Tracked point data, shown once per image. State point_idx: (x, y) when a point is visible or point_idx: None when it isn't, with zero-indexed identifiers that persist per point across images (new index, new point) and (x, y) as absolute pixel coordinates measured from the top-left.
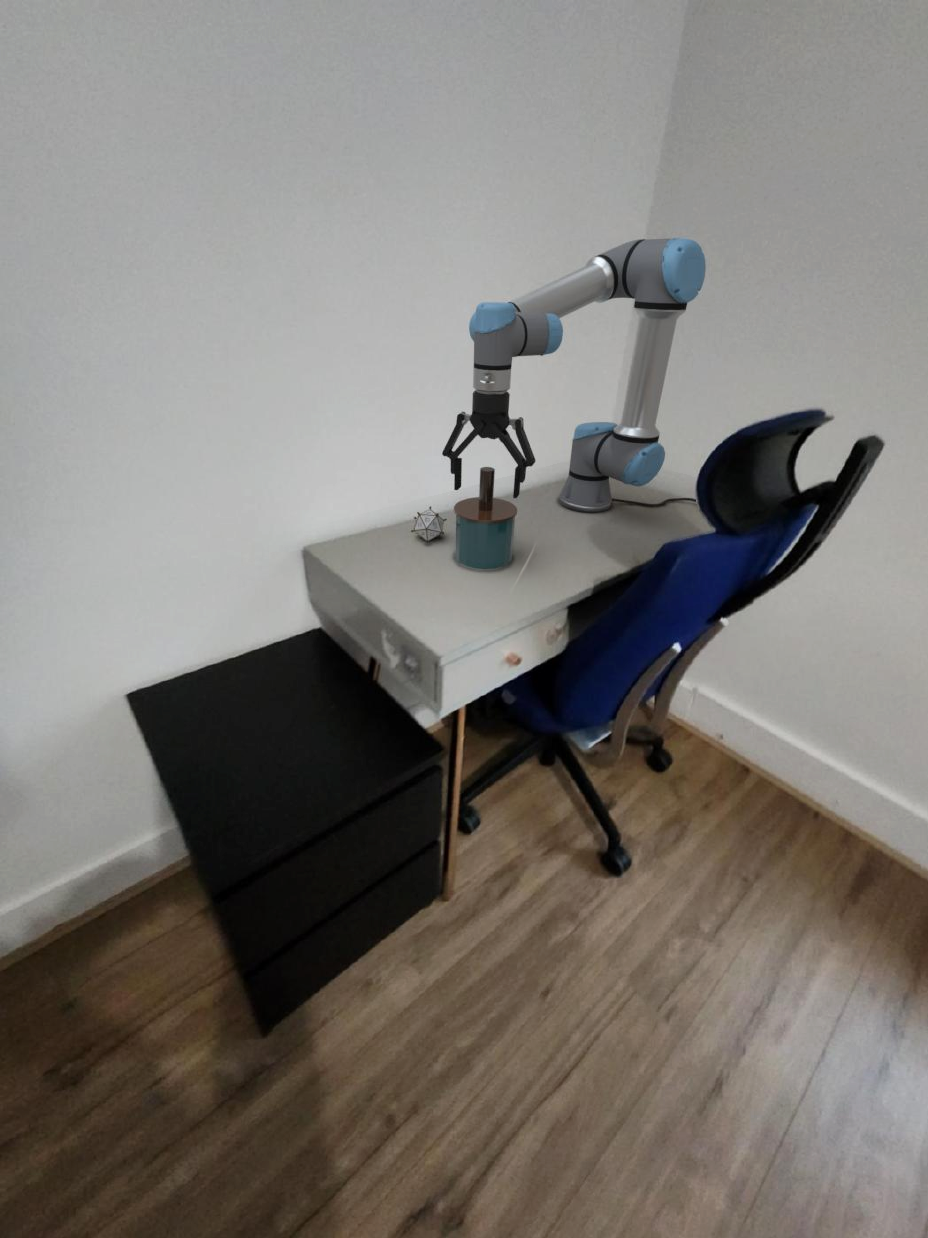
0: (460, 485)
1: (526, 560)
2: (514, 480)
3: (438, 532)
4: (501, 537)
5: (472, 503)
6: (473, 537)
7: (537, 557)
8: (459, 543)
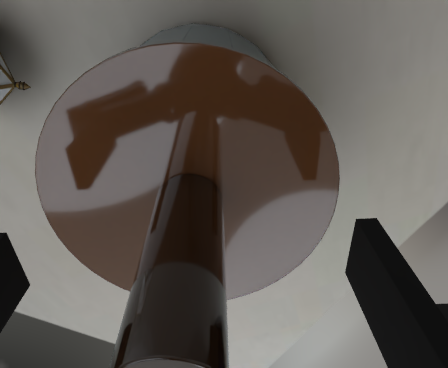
0: (6, 253)
1: (328, 77)
2: (387, 364)
3: (8, 93)
4: None
5: (107, 173)
6: None
7: (361, 41)
8: None
